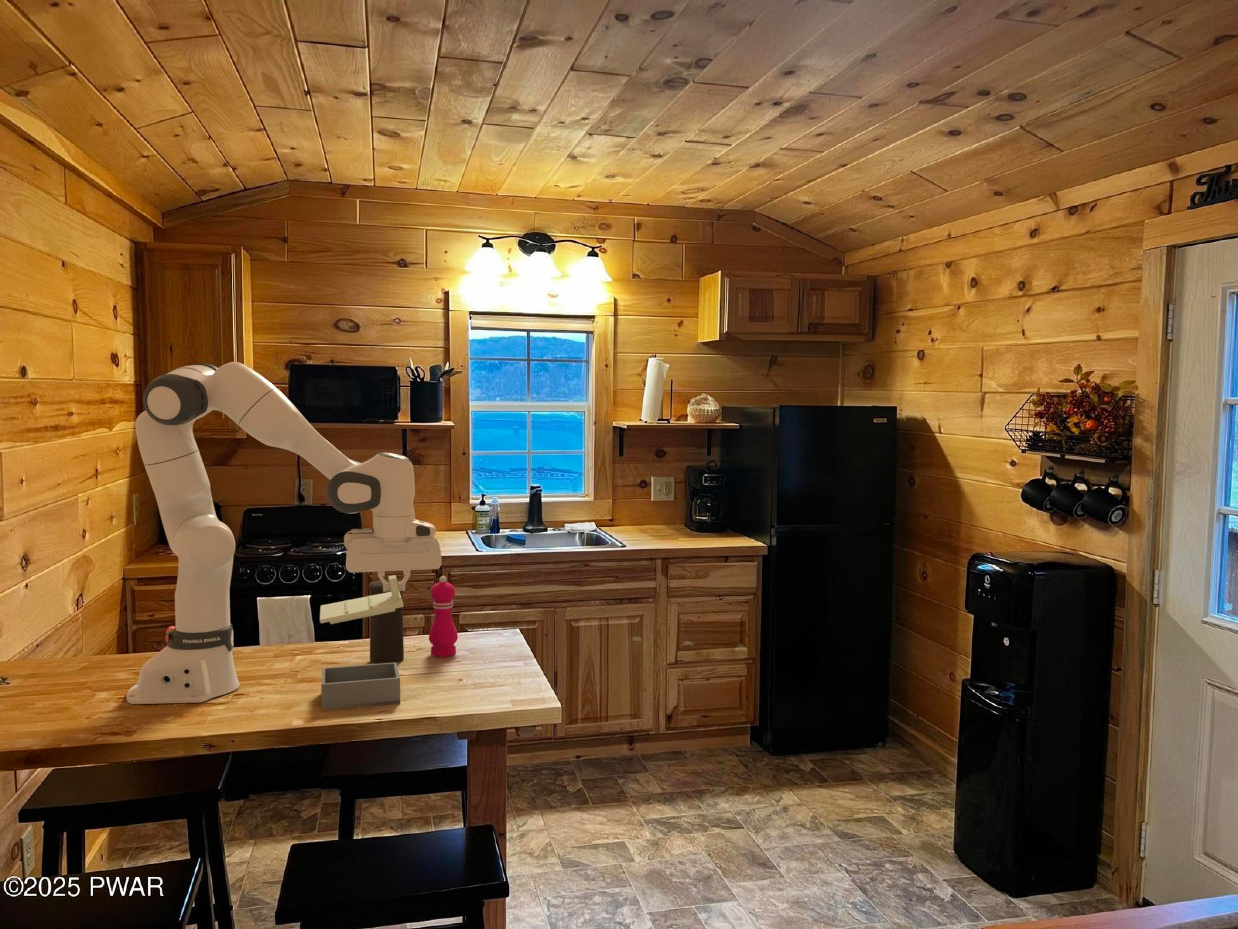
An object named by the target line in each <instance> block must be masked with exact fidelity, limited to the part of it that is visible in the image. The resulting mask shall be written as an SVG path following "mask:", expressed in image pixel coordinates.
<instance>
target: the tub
mask: <svg viewBox="0 0 1238 929" xmlns="http://www.w3.org/2000/svg"><path fill="white" fill-rule="evenodd" d="M320 687H321V690H320V691H321V692H320V693H321V711H330V710H331V709H332V710H340V709H339V708H343V709H353V708H364V707H374V706H385V705H387V706H388V705H397V704H401V677H400V673H399V668H398V663H396V662H394V663H381V664H373V663H369V664H357V665H344V666H331V667H322V668H321V684H320ZM337 708H338V709H337Z"/></svg>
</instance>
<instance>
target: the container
mask: <svg viewBox="0 0 1238 929" xmlns="http://www.w3.org/2000/svg"><path fill="white" fill-rule="evenodd" d="M384 580H385V581H386V582H389V579H384ZM401 581H402V580H399V579H397V583H398V582H401ZM367 588H368V590H369V592H370V594H369V596H370V595H371V596H372V595H377V594H382V593H388V592H391V588H390V591H386V592H383V583H382V582H381V580H380V579H379V580H378V579H377V580H373V581H371V582H369V584H368V586H367ZM399 592H400V595H401V598H402V601H403V599H404V594H403V592H404V591H399ZM403 608H404V607H400V608H395V611H393V612H388V613H383V614H378V615H373V616H369V618H370V619H369V628H370V630H369V662H370V664H381V663H394V662H396V663H397V664H398V663H400V662H402V661H403V660H404V659H405V658H404V657H405V651H404V650H405V648H404V646H405V645H404V644H405V643H404V609H403Z"/></svg>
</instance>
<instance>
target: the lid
mask: <svg viewBox="0 0 1238 929" xmlns="http://www.w3.org/2000/svg"><path fill="white" fill-rule="evenodd" d="M388 580H389V582H390V588H391V592H388V593H382V594H377V595H372V596H371V595H370V594H369V595H367V596H364V597H358V598H353V599H346V600H343V601H338V602H332V603H328V604H327V603H326V604H322V605H320V610H319V623H320V624H324V623H330V625H333V624H339V623H343V622H348V621H352V620H357V619H363V618H367V617H370V616H373V615H378V614H383V613H388V612H393V611H395V608H400V607H403V608H404V602H403V601H402V598H401V595H400V592H399V589H398V583H397V580H398V579H397V576H396V574H394V575H393V574H392V575H389V576H388Z"/></svg>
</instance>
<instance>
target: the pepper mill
mask: <svg viewBox="0 0 1238 929" xmlns="http://www.w3.org/2000/svg"><path fill="white" fill-rule="evenodd" d="M438 579H439V582H437V583H435V584H434V585H432V587H431V589H430V596H431V598H432V599H433V602H432V604H433V606H432V608H433V609H434V619H433V622H432V625H431V628H430V629H429V633H428V640H429V642H430V644H431V645H432V646H431V647H430V655H431V656H432V657H435V658H436V657H437V658H447V657H452V656H455V655H456V654H457V647H456V645H455V643H456V642H457V641H458V638H459V636H458V630H457V628H456V626H455V623H454V621H453V617H452V608H453V607H454V601H453V598H455V596H456V589H455V587H454V585H453V584H451V583H450V582H448V581H447V577H446V576H445V575H442V576H440V577H439V578H438Z"/></svg>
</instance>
